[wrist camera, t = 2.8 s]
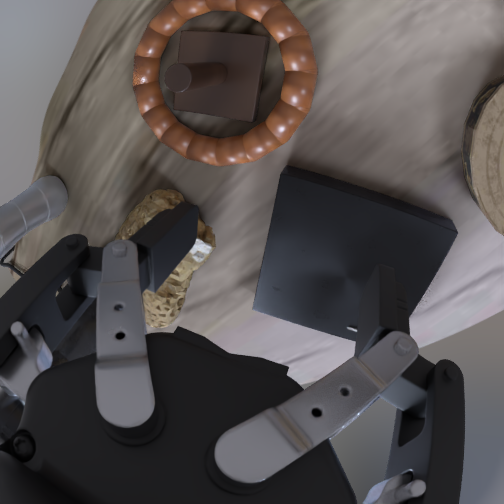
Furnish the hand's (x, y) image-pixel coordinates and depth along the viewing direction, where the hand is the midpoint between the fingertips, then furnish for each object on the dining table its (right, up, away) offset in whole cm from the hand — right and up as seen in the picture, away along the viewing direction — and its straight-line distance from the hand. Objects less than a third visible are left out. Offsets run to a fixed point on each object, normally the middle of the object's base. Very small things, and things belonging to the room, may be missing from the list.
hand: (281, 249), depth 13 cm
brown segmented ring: (-4, +15, +11) cm, 19 cm away
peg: (-4, +16, +12) cm, 20 cm away
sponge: (-12, -1, +26) cm, 29 cm away
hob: (+9, -2, +19) cm, 21 cm away
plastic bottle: (-30, +9, +27) cm, 41 cm away
